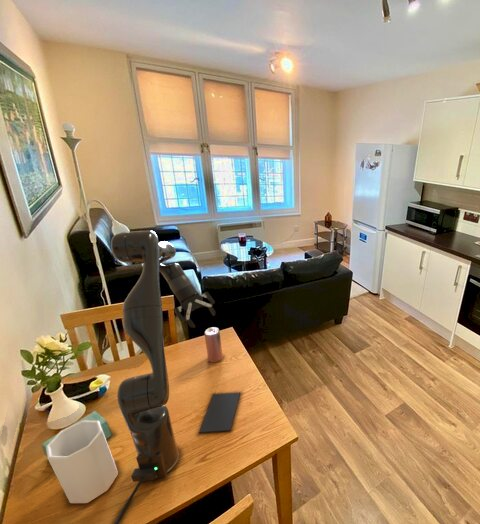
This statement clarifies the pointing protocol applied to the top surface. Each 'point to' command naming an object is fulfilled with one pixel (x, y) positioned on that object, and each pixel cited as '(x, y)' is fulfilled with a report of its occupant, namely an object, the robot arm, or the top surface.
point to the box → (91, 417)
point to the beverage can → (213, 344)
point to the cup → (82, 461)
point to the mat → (220, 413)
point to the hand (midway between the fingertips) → (204, 321)
